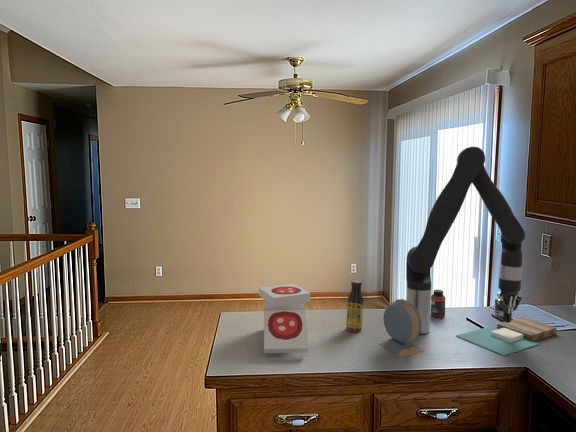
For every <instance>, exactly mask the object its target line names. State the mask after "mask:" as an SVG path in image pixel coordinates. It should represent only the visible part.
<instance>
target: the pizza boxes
mask: <svg viewBox="0 0 576 432" xmlns="http://www.w3.org/2000/svg"><path fill="white" fill-rule="evenodd" d="M258 296H259V297H260V298H261V299H263V354H291V353H293V354H298V353H299V354H301V353H302V354H303V353H308V351H309V343H308V342H309V340H308V339H309V338H308V330H307V329H308V327H307V326H308V325H307V317H306V307H305V305H306V303H310V302H311V296H312V295H311V292H309V291H307V290H305V288H302V287H301V286H299V285H297V284H296V283H287V284H278V285H270V286H261V287H258Z"/></svg>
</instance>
